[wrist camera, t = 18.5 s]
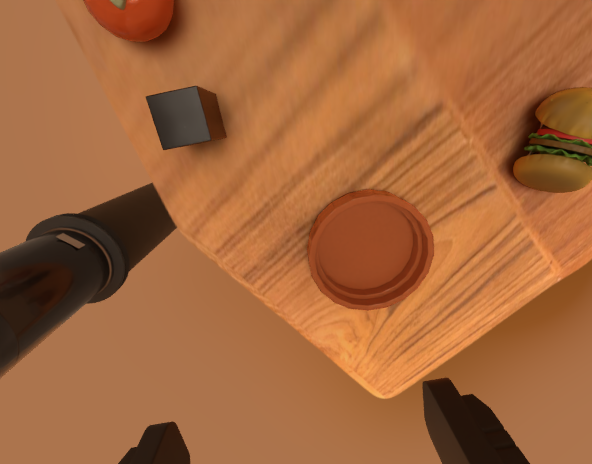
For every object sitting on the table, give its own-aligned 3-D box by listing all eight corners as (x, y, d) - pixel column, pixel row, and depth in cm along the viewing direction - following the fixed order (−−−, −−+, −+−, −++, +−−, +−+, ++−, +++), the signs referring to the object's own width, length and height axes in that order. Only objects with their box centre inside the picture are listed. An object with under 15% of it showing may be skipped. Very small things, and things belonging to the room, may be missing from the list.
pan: (317, 303, 41) (320, 319, 38) (297, 201, 36) (298, 209, 33) (423, 284, 40) (435, 298, 37) (418, 178, 35) (431, 184, 32)
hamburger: (571, 198, 35) (637, 86, 30) (597, 207, 28) (685, 68, 24) (497, 178, 37) (549, 72, 33) (506, 182, 31) (571, 53, 27)
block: (187, 145, 34) (162, 150, 27) (174, 102, 32) (145, 96, 26) (226, 137, 33) (211, 140, 27) (215, 93, 32) (196, 85, 25)
